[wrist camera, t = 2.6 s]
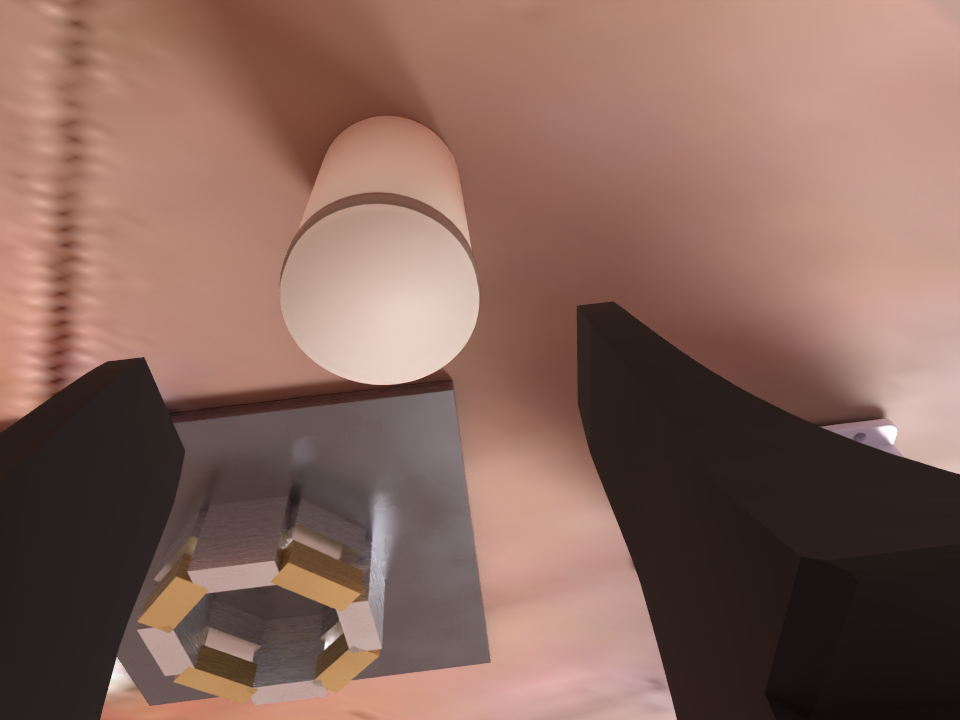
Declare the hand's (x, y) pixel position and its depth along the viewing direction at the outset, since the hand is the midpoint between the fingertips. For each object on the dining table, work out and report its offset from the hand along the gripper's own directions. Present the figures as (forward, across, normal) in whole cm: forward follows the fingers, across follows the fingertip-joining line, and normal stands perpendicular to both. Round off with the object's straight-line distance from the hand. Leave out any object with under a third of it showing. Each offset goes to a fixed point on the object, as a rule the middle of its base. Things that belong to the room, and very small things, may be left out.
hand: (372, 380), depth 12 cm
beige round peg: (+10, 0, 0) cm, 10 cm away
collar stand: (+10, +7, +15) cm, 19 cm away
